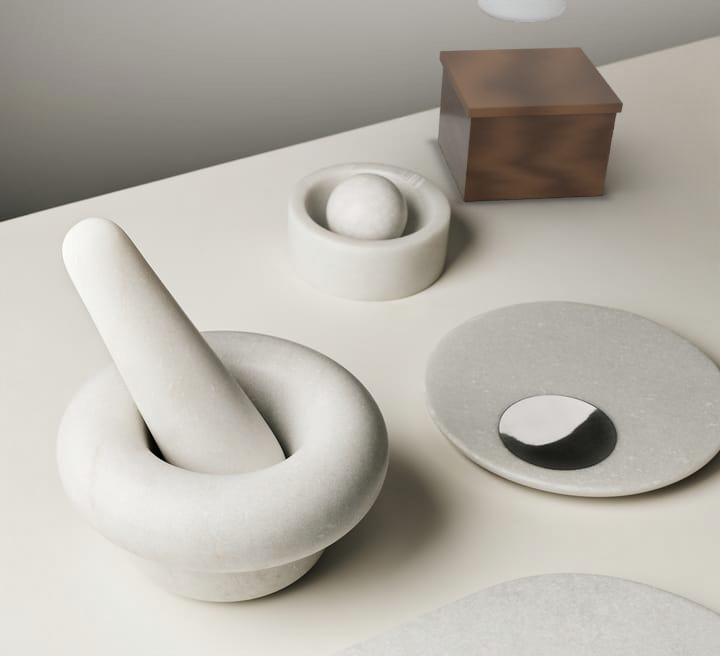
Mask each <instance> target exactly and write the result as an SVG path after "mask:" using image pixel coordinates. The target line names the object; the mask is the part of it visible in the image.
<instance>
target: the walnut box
mask: <svg viewBox="0 0 720 656" xmlns="http://www.w3.org/2000/svg"><path fill="white" fill-rule="evenodd" d="M439 62H440V64H441V65H442V74H441V75H442V76H441V77H442V78H441V88H440V89H441V92H440V103H439V107H440V109H439V119H438V136H437V142H438V145H439V148H440V149H441V152H442V154H443V157H444V159H445V162H446V163H447V167H448V168H449V170H450V172H451V175H452V177H453V180H454V182H455V184H456V187H457V188H458V191H459V193H460V196H461V198H462V200H463V202H478V201H479V202H480V201H501V200H504V201H505V200H525V199H526V200H527V199H550V198H574V197H575V198H576V197H577V198H578V197H596V196H597V197H599V196H603V193H604V187H605V184H606V183H605V182H606V176H607V171H608V165H609V159H610V153H611V147H612V141H613V137H614V130H615V125H616V118H617V114H621V113H622V112H623V106H624V103H623V101H622V100H621V99H620V97H619V96H618V95H617V93H615V91H614V89H613V88H612V87H611V86H610V84H609V83H608V82H607V81H606V79H605V78H604V76H603V75H602V74H601V73H600V71H599V70H598V69H597V67H596V66H595V64H594V63H593V61H591V60H590V58H589V56H587V54H586V53H585V51H584V50H583V49H582V47H577V46H576V47H542V48H541V47H540V48H538V47H537V48H503V49H467V50H465V49H464V50H440V51H439Z"/></svg>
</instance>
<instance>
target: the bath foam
mask: <svg viewBox="0 0 720 656" xmlns="http://www.w3.org/2000/svg"><path fill="white" fill-rule="evenodd" d="M568 2H569V0H477V5H478V7H479V9H480V11H481V12H482V13H484V14H485V15H487V16H488V17H490V18H493V19H495V20H499V21H503V22H508V23H516V24H531V23H541V22H546V21H549V20H553V19H556V18H558V17H560V16H561V15H562V14H563V13H565V11H566V10H567V7H568Z"/></svg>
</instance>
